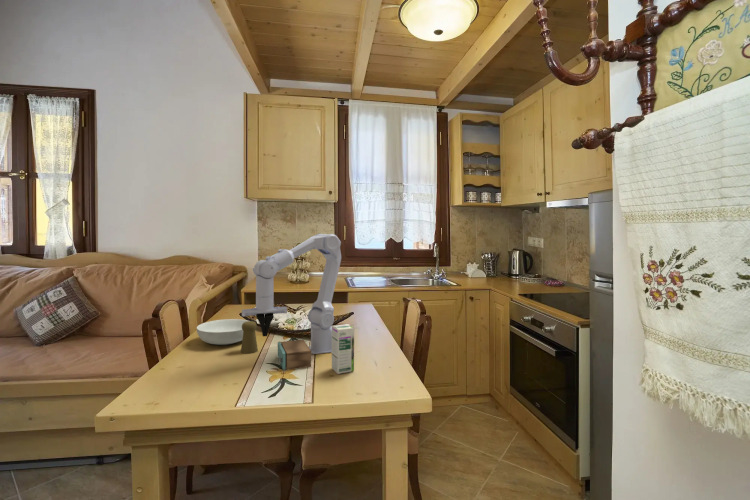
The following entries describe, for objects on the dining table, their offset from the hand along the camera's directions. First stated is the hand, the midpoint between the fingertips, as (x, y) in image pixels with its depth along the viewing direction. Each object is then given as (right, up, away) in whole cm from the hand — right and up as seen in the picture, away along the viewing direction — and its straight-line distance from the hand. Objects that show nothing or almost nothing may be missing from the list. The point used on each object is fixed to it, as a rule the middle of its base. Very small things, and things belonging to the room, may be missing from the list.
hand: (264, 335), depth 122 cm
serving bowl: (-23, -8, +22) cm, 33 cm away
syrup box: (+27, -10, -4) cm, 29 cm away
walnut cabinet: (+10, -10, +2) cm, 14 cm away
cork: (-9, -9, +12) cm, 17 cm away
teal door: (+5, -9, 0) cm, 11 cm away
